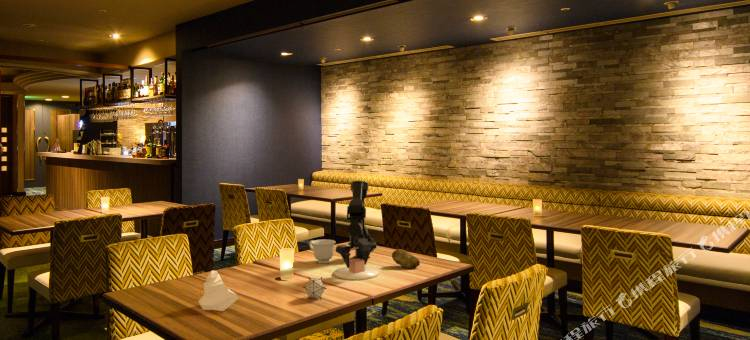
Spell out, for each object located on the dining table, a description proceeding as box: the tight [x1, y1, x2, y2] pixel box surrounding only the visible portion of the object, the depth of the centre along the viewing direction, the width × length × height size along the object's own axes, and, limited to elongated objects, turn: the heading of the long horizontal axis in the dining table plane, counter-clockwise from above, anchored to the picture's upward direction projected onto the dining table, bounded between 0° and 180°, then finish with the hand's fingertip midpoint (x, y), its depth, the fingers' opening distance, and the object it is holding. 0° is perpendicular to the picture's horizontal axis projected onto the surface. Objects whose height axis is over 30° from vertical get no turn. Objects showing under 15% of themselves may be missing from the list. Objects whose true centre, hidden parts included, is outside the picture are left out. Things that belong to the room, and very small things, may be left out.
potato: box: [391, 248, 421, 269], centre depth 254 cm, size 8×13×8 cm, turn 49°
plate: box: [333, 265, 380, 281], centre depth 242 cm, size 20×20×1 cm
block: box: [349, 258, 366, 273], centre depth 242 cm, size 5×5×5 cm
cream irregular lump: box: [198, 270, 239, 312], centre depth 198 cm, size 12×15×14 cm
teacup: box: [308, 238, 336, 264], centre depth 265 cm, size 12×15×10 cm
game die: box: [302, 276, 328, 300], centre depth 207 cm, size 9×8×10 cm
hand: (356, 266), depth 242 cm, fingers open, 9 cm apart
